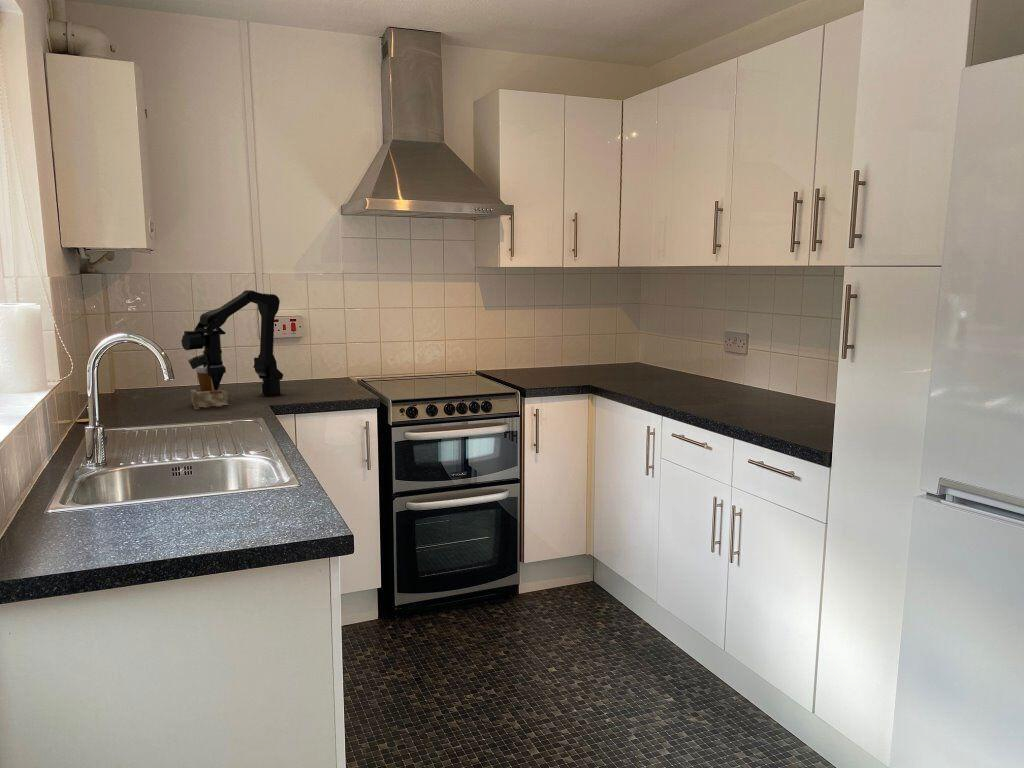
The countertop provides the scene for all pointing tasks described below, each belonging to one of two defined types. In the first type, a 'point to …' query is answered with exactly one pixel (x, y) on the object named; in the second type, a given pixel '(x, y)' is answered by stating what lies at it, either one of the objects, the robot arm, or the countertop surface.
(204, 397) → the block
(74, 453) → the countertop surface
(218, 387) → the dowel
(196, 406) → the wall
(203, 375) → the disposable coffee cup
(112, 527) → the countertop surface
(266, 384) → the robot arm
